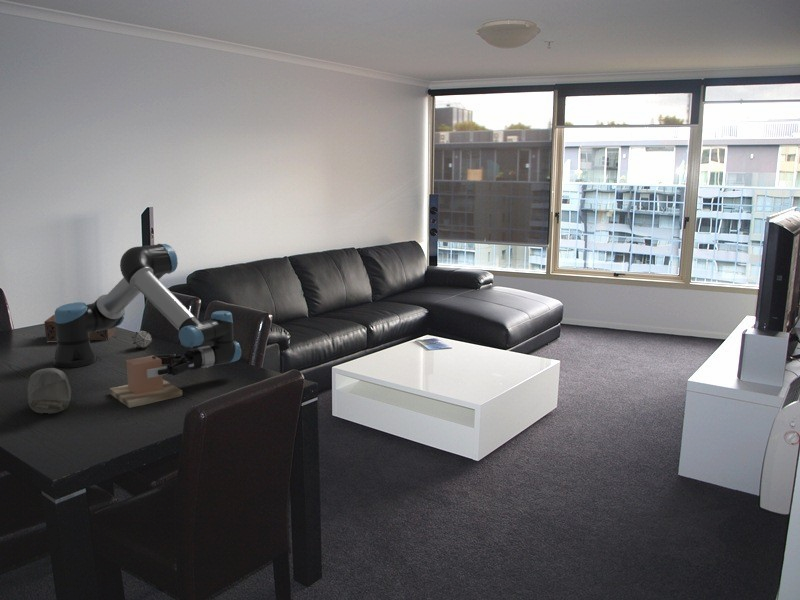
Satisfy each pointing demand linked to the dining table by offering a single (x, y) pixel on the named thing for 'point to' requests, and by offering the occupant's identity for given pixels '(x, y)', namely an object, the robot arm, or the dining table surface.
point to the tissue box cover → (99, 335)
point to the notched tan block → (143, 375)
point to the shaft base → (145, 395)
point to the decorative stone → (48, 391)
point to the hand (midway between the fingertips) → (139, 369)
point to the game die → (142, 339)
